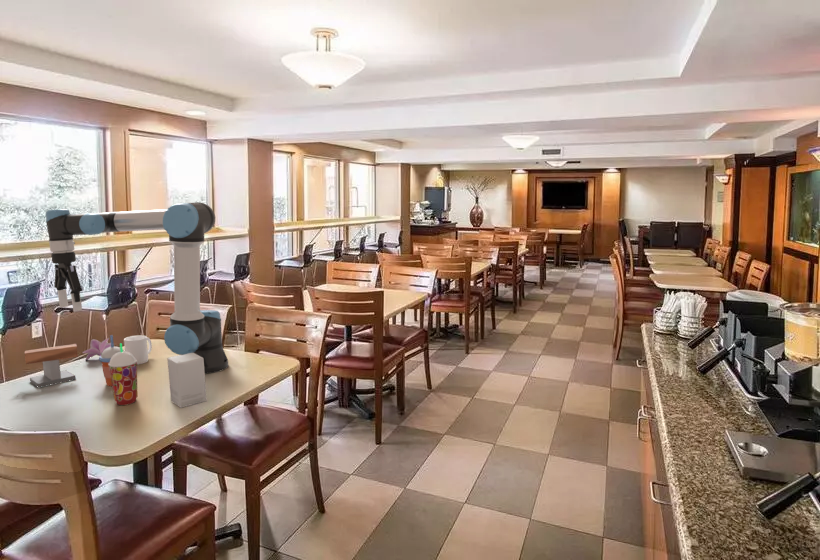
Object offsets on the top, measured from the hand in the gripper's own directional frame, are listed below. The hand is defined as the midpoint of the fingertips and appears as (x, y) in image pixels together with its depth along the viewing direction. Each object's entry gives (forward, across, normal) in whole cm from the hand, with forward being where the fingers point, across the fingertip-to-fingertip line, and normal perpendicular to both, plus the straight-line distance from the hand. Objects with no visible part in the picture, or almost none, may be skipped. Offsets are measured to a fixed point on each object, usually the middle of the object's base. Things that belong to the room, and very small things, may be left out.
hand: (70, 308), depth 208 cm
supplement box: (+28, -57, -13) cm, 65 cm away
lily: (+26, +17, -14) cm, 34 cm away
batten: (+17, +1, +8) cm, 19 cm away
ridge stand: (+26, +3, +8) cm, 27 cm away
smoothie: (+27, -41, +1) cm, 50 cm away
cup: (+27, +2, -24) cm, 36 cm away
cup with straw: (+27, -20, -5) cm, 34 cm away
